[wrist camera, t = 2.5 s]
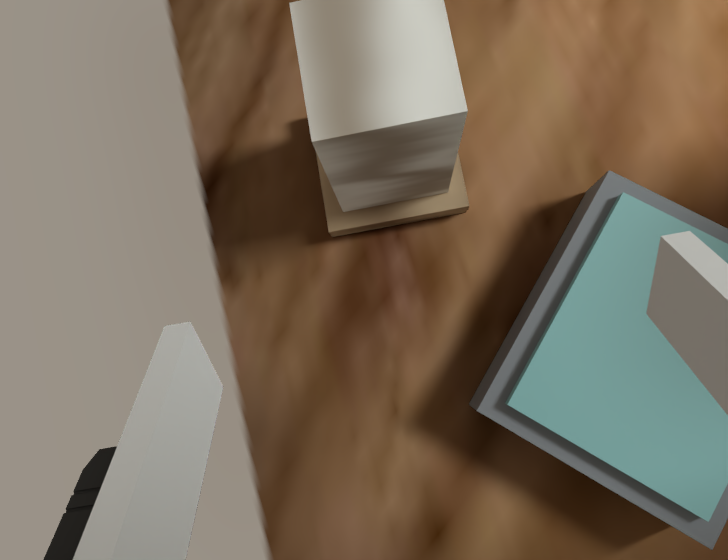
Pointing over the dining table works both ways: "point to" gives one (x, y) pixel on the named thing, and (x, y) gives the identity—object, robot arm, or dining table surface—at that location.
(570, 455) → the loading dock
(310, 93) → the pallet
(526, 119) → the dining table surface
